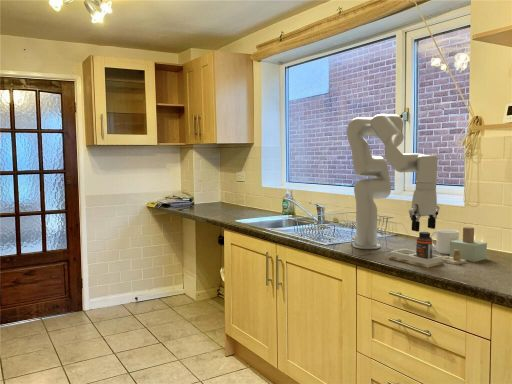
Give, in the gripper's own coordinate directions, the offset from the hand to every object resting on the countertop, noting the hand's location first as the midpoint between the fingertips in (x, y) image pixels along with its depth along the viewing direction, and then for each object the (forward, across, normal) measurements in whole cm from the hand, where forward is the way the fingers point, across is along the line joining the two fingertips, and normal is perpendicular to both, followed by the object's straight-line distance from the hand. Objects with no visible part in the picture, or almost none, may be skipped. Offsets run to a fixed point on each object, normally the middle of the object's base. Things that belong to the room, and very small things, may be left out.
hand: (423, 229), depth 183 cm
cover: (+13, -22, +6) cm, 26 cm away
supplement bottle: (+12, 0, +1) cm, 13 cm away
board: (+14, 0, -3) cm, 14 cm away
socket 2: (+13, 0, +2) cm, 13 cm away
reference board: (+13, -11, +6) cm, 18 cm away
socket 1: (+14, 0, -7) cm, 16 cm away
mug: (+14, -25, -7) cm, 29 cm away
